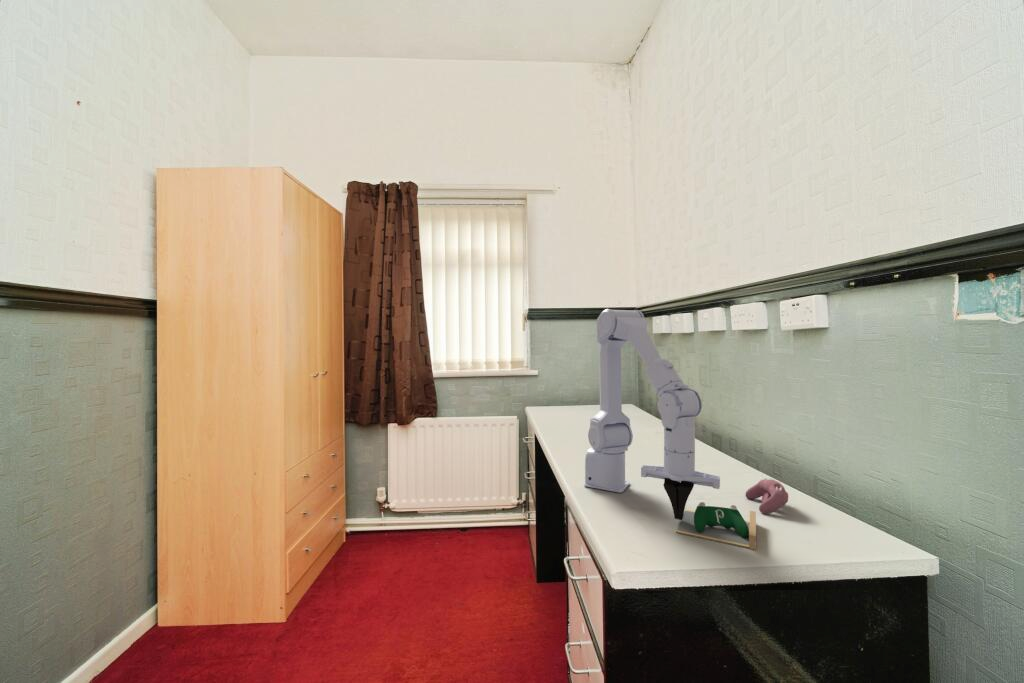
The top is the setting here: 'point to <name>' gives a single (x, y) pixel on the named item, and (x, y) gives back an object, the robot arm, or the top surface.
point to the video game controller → (768, 495)
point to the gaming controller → (720, 518)
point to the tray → (719, 531)
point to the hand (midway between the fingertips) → (679, 517)
